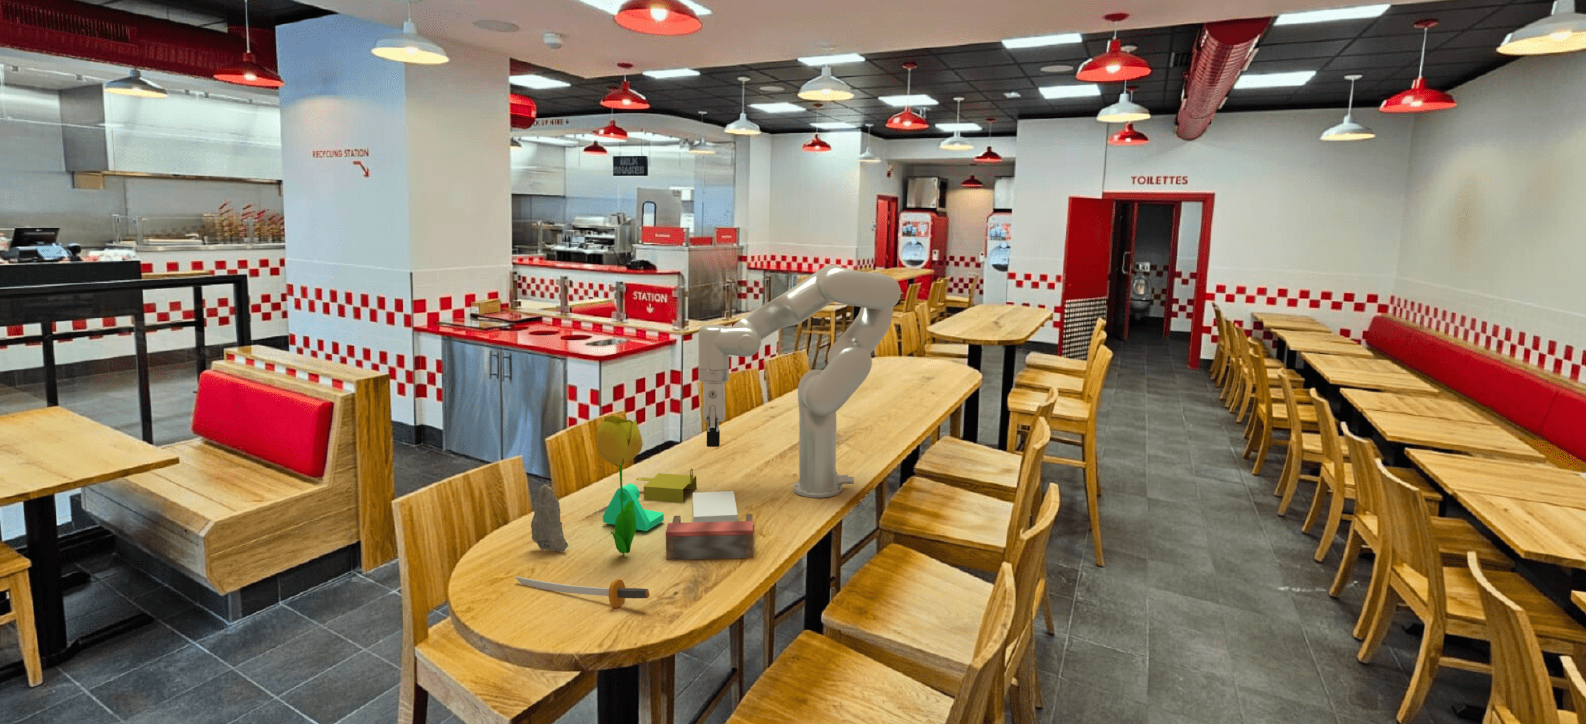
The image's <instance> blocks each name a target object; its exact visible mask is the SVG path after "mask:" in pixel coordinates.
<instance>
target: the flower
mask: <svg viewBox="0 0 1586 724" xmlns="http://www.w3.org/2000/svg"><path fill="white" fill-rule="evenodd" d="M596 447H597V451H598V454H599V456H600V457H601V459H603V460H605V461H606V462H608V463H611V464H612V465H614V466H617V467H618V468H619V469H618V471H619V485H620V487H619V488H620V491H621V511H620V512H619V514H618V516H617V518H616V521H615V525H614V531H612V530H611V531H610V535H611V534H612V537H613V540H614V545H615V548H616V549H617V551H618V552H619V553H621V554H622V557H623V558H625V556H626V555H625V554H627V553H628V554H629V553H631V547H632V543H633V539H634V537H635V534H636V531H637V530H636V519H635V513H634V505H633V503H634V501H629V502H628V503H627V504H626V505H625V506H624V508H623V496H622V487H623V466H624V465H625V464H627V463H629V462H631V461H633V460H634V459H635V458H636V457H637V456H638V455H639V454H640V453H641V452H642V447H643V439H642V435H641V432H640V429H639V425H638V422H637V419H636V418H634V420H631V419H624V418H621V417H620V416H616V415H610V416H607V417H605V418H604V419H603V421H602V422H601V423H600V424H599V425H598V428H597V434H596ZM635 530H636V531H635Z"/></svg>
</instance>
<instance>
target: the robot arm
mask: <svg viewBox="0 0 1586 724" xmlns="http://www.w3.org/2000/svg"><path fill="white" fill-rule="evenodd" d="M901 293H902V290H901V287H900V284H899V282H898V281H897V279H895V278H893V277H892V276H891V275H888V274H885V273H881V272H866V271H860V270H855V269H850V268H847V267H843V266H839V265H836V264H829V265H825V266H824V267H822V268H819V269H818V270H817V271H816V272H814V273H812V274H811V275H810V276H808V277H806V278H805V279H803V280H802V281H800V282H799V283H798V284H796V285H795V286H793V287H791V288H790V289H788V290H787V291H785V292H784V293H782V294H780V295H778V296H777V297H775V298H774V299H772V300H770V301H769V302H766V303H765V304H763V305H761V306H760V307H758V308H756V309H755V310H753V311H752V312H750V313H749V314H747V315H746V316H744V317H743V318H741V319H739V320H738V321H736V323H734V324H733V325H732V327H730V328H729V327H727V326H726V325H723V324H706V325H702V326H700V328H699V330H698V369H697V370H698V371H697V372H698V382H700V383H703V384H702V389H703V391H702V392H703V393H702V394H703V395H702V397H703V398H702V399H703V403H702V405H703V417H704V418H703V419H704V422H706V423H707V429H706V447H707V448H718V447H720V442H721V441H720V440H721V439H720V435H721V433H720V431H721V430H720V422H721V423H723V422H725V416H726V388H725V387H726V385H725V384H726V383H728V382H729V381H730V376H729V375H730V371H729V370H730V356H735V357H736V356H737V357H741V358H742V357H744V358H745V357H747V358H748V357H751V356H754V355H756V354H757V353H758V351H759V350H760V349H761V346H762V340H764V339H766V338H767V337H769V336H770V335H772V334H773V333H775V332H777V331H779V330H782V329H784V328H787V327H792V326H796V325H799V324H801V323H803V322H805V321H806V320H808V319H809V318H811V317H813V315H815V314H817V313H818V312H820V311H821V310H822V309H825V307H827V306H829V305H830V304H832V303H837V304H842V305H847V306H851V307H858V308H859V307H860V309H859V312H858V315H857V316H856V317H855V318H854V320H853V321H852V323H851V324H850V325H849V326H848V328H847V329H846V330H845V331H844V332H843V334H842V335H841V336H840V337H839V338H838V339H837V340H836V341H835V342H834V343H833V344H832V345H831V347H830V348H829V350H828V352H827V363H828V364H827V365H826V366H825V367H824V368H823V369H811V370H809V371H807V372H805V373H804V374H803V375H802V377H801V378H800V380H799V382H798V387H797V398H798V399H797V402H798V423H799V426H798V427H799V428H798V429H799V433H798V434H799V435H798V440H799V441H798V445H799V446H798V448H799V449H798V450H799V451H798V452H799V453H798V454H799V455H798V457H799V458H798V459H799V460H798V468H799V469H798V471H799V472H798V478H799V479H798V480H797V481H795V483H794V484H793V486H792V490H793V491H794V492H795V494H796V495H799V496H802V497H806V498H813V499H815V498H816V499H821V498H822V499H823V498H829V497H830V498H831V497H834V496H837V495H838V494H840V493H841V492H842V489H843V488H842V487H843V486H842V485H854V484H855V477H854V476H849V475H848V474H839V473H838V471H837V467H836V466H837V412H838V411H839V410H840V409H841V408H842V407H843V406H844V405H845V404H846V403H847V401H848V400H849V399H850V398H851V396H853V394H854V393H855V392H857V390H858V389H859V388H860V386H861V385H862V384H863V383H864V382H865V380H866V379H867V377H868V376H869V374H870V373H871V370H872V366H873V360H872V359H873V358H872V352H873V351H874V350H875V349H876V347H877V346H878V345H879V344H880V342H881V341H882V340H883V339H884V337H885V336H886V335H887V333H888V331H889V329H890V327H891V324H892V321H893V316H894V307H895V306H896V305H897V304H898V302H900V299H901Z"/></svg>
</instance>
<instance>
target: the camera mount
mask: <svg viewBox="0 0 1586 724" xmlns="http://www.w3.org/2000/svg"><path fill="white" fill-rule="evenodd" d="M640 495H641V493H640V489H639V488H638V486H637V485H635V484H634V483H627V484H625V485H622V496H623V508H624V506H625V505H626V504H627V503H628V502H629V501H634V503H633V505H634V513H635V519H636V530H635V532H636V531H638V530H639V531H643V532H644V531H645V532H647V531H648V530H650V529H653V528H654V527H655V526H657V525H658V524H660V523H662V522H663V521H664V520H665V516H664V515H665V514H664V512H661V511H656V510H650V509H646V508H645V509H644V508H643V505H642V504H641V503H640V501H639V500H640ZM620 511H621V491H620V487H619V488H617V489H616V491H615V492H614V495H613V496H612V498H611V500H610V501H609V504H608V505H607V507H606V509H605V512H604V513H603V514H602V523H605V524H610V525H614V526H615V521H616V518H617V516H618V514H619V512H620Z"/></svg>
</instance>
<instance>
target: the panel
mask: <svg viewBox="0 0 1586 724" xmlns="http://www.w3.org/2000/svg"><path fill="white" fill-rule="evenodd" d="M692 510H693V515H692V517H693V522H731V521H739V516H738V510H737V504H736V497H735V493H734V491H733V490H730V491H729V490H728V491H727V490H726V491H707V492H706V491H703V492H692Z"/></svg>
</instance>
